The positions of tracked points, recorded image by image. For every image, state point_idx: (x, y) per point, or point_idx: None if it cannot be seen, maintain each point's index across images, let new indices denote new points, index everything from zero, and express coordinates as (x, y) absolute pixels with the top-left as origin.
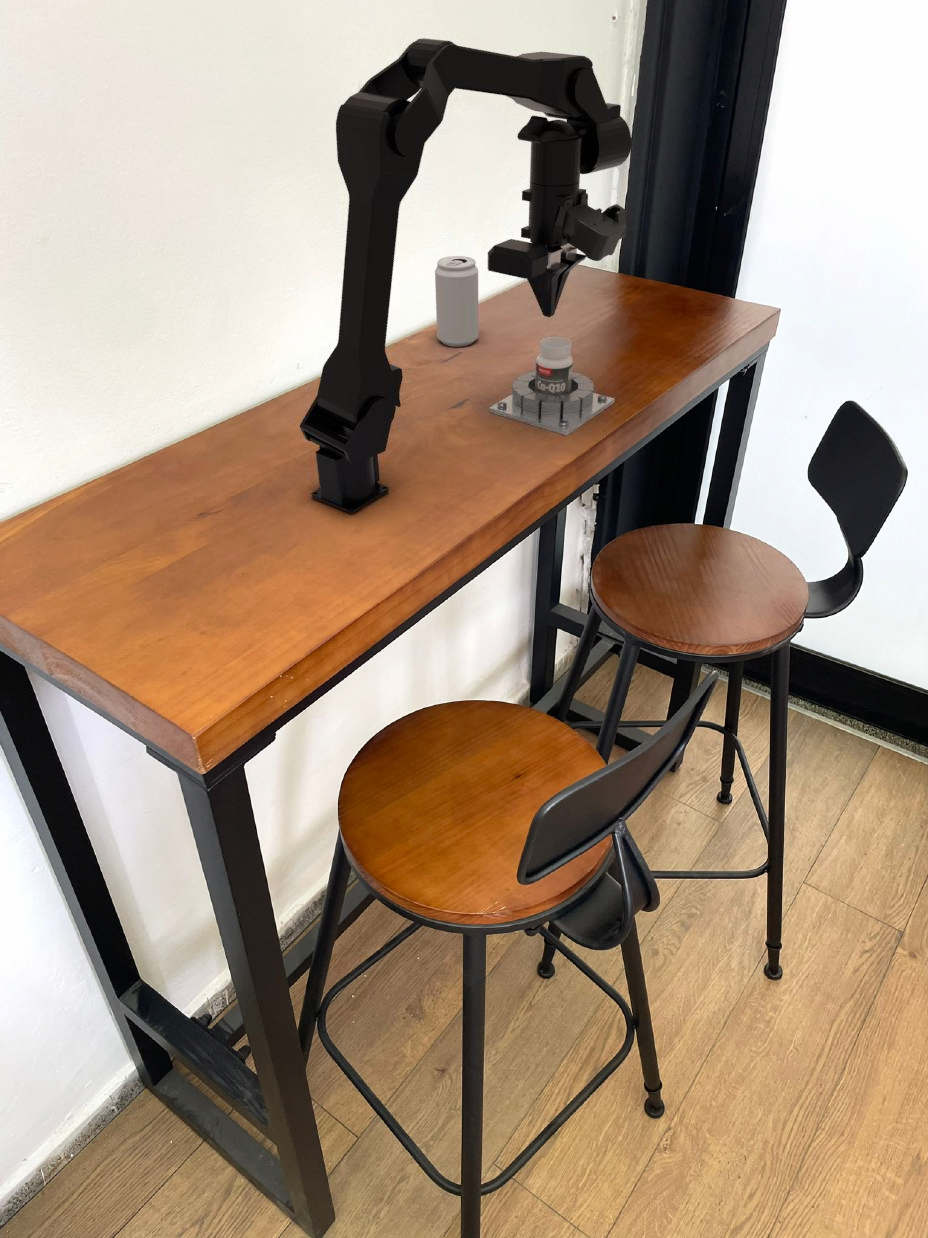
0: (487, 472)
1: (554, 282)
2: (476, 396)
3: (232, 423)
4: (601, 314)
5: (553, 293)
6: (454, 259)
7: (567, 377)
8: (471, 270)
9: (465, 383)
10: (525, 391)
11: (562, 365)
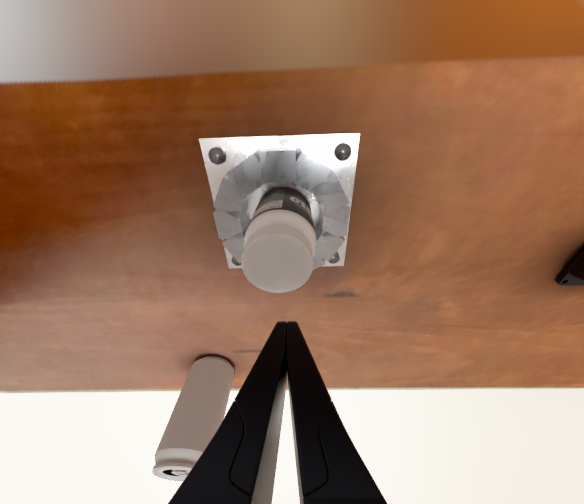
0: (520, 162)
1: (338, 470)
2: (313, 293)
3: (459, 383)
4: (16, 313)
5: (316, 397)
6: (169, 472)
7: (285, 202)
8: (176, 455)
9: (291, 316)
10: (327, 243)
11: (299, 217)
